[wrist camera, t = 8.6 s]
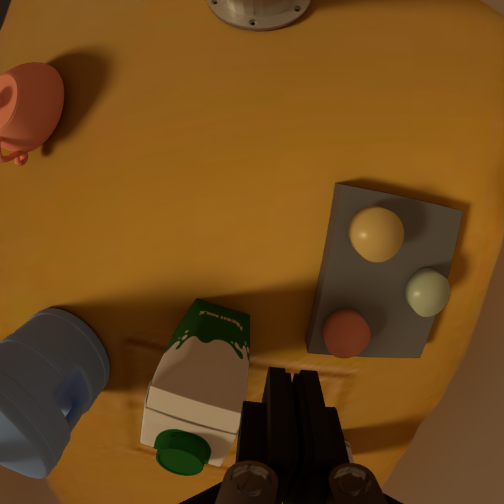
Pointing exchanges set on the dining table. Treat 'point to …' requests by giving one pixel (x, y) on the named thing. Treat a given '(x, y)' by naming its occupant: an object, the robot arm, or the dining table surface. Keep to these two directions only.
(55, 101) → the sugar bowl
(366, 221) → the tan rounded piece
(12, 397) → the water jug
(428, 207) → the plate
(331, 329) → the red rounded lump
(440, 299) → the pale green ball
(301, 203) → the dining table surface
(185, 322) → the milk carton
